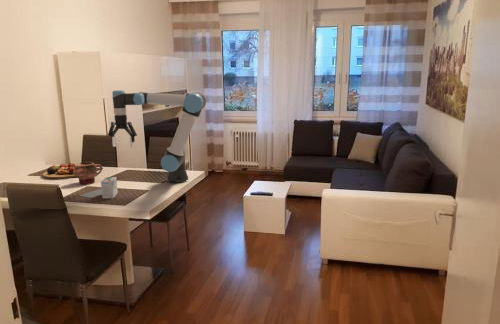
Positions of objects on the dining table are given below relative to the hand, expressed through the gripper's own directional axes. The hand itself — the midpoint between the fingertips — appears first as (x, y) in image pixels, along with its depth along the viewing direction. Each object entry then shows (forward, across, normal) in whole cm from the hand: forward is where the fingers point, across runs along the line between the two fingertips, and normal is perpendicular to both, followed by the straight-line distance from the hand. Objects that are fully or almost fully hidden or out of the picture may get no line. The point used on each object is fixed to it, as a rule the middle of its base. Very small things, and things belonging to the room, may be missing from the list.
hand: (123, 146), depth 251 cm
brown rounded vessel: (+27, +31, -1) cm, 41 cm away
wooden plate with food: (+27, +64, -18) cm, 72 cm away
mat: (+26, +9, +20) cm, 34 cm away
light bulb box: (+27, -3, +23) cm, 35 cm away
